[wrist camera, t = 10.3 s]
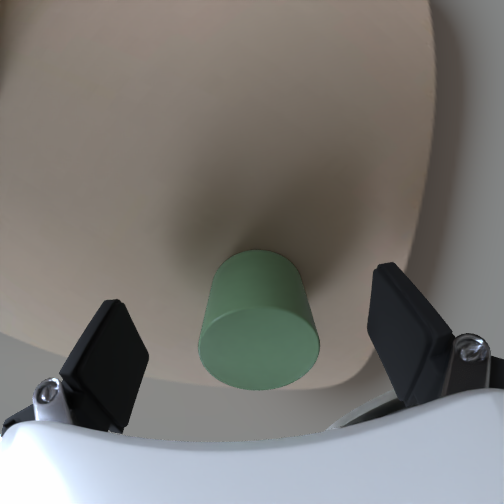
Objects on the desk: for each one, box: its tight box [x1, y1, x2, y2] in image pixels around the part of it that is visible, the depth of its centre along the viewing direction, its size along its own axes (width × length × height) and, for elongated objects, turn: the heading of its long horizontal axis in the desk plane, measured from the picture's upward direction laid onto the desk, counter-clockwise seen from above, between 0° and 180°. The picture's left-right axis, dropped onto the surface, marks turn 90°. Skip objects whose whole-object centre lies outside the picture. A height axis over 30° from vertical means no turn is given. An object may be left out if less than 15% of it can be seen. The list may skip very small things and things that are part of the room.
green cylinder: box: [198, 250, 320, 390], centre depth 10 cm, size 4×4×4 cm
